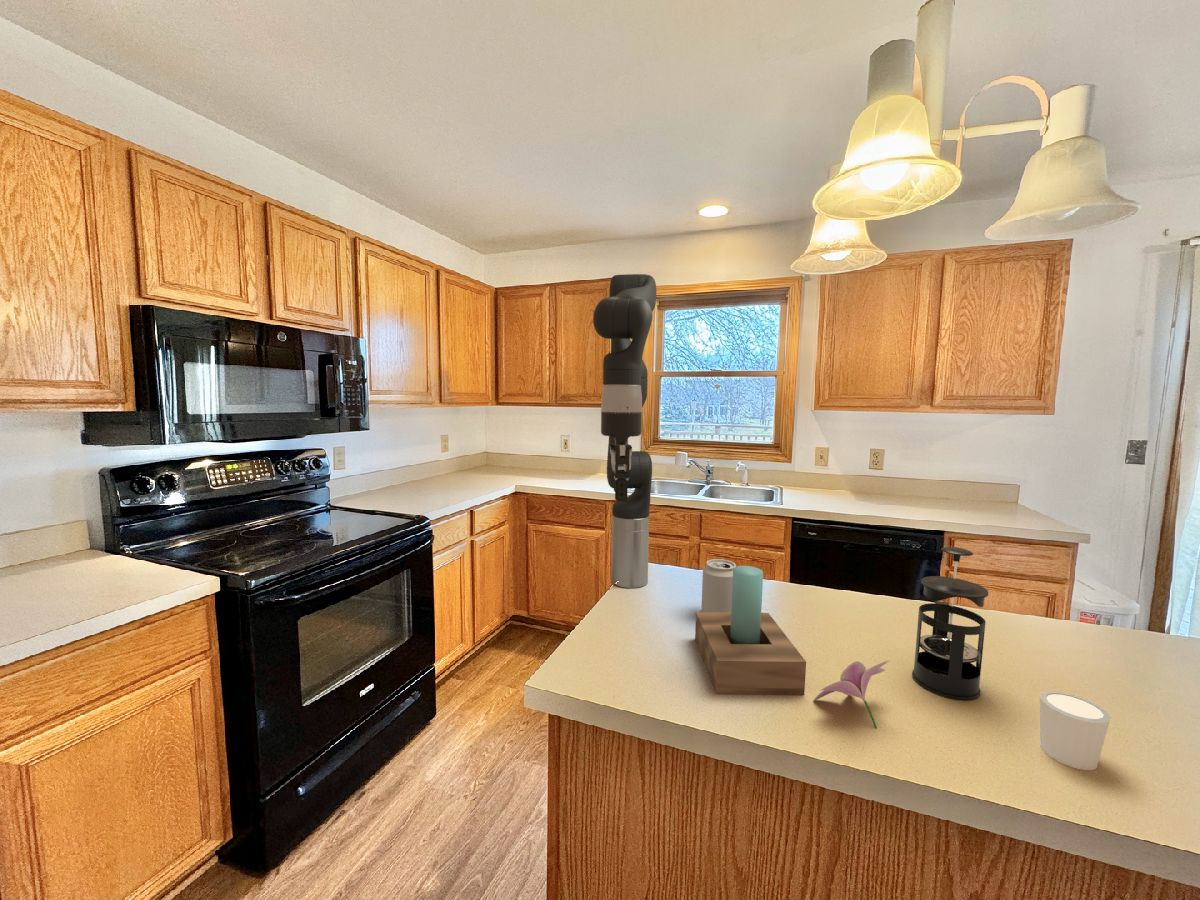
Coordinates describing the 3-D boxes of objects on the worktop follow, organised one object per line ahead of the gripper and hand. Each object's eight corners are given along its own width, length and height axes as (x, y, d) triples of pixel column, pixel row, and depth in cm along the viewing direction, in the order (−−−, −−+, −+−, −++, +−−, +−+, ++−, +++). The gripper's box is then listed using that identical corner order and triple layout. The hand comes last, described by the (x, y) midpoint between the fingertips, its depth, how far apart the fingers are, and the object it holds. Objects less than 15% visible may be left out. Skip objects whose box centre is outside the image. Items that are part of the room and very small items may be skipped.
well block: (695, 639, 98) (695, 611, 97) (767, 639, 98) (768, 612, 97) (716, 693, 80) (717, 660, 79) (804, 694, 80) (806, 661, 79)
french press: (990, 708, 77) (1005, 562, 74) (919, 695, 80) (931, 554, 78) (967, 670, 88) (979, 541, 85) (905, 659, 91) (915, 535, 89)
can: (741, 625, 104) (743, 569, 103) (704, 624, 104) (706, 568, 103) (732, 610, 112) (734, 557, 110) (698, 609, 112) (700, 556, 110)
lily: (896, 708, 78) (870, 644, 82) (929, 725, 67) (897, 651, 71) (820, 727, 80) (797, 663, 83) (840, 747, 69) (813, 672, 72)
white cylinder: (1024, 733, 71) (1029, 686, 71) (1083, 743, 70) (1089, 695, 69) (1051, 767, 65) (1057, 716, 64) (1118, 779, 63) (1125, 726, 62)
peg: (726, 650, 91) (729, 565, 89) (754, 650, 91) (758, 565, 89) (733, 665, 86) (737, 576, 84) (762, 666, 86) (767, 576, 84)
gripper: (645, 411, 86) (643, 504, 88) (638, 409, 100) (637, 489, 102) (601, 410, 86) (600, 504, 88) (601, 408, 100) (600, 489, 102)
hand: (620, 496), depth 95 cm, fingers open, 8 cm apart
